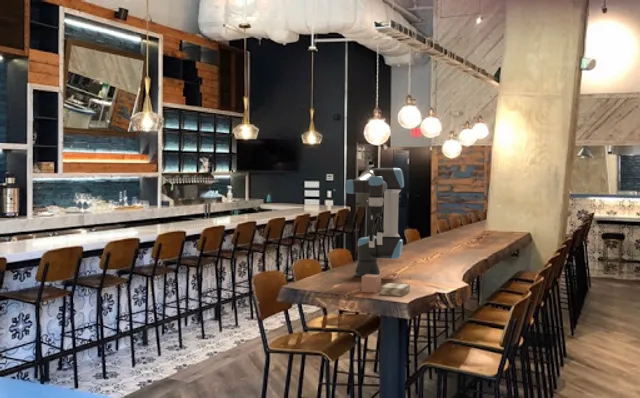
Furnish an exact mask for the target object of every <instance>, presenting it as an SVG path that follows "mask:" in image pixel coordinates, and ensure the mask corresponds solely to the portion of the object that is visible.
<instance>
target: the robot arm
mask: <svg viewBox="0 0 640 398" xmlns="http://www.w3.org/2000/svg"><path fill="white" fill-rule="evenodd" d="M344 187H345V188H344V189H345V192H346V194H352V195H354V194H356V195H359V194H364V195H365V194H368V205H369V206H368V214H371V215H369V221H368V227H367V233H366V234H367V235H368V236H365V237H360V238H359V239H357V240H358V241H357V264H356V266H355V270H354V276H355V277H360V278H362V276H364V275H366V274H373V275H381V270H380V267H379V264H378V259H387V260H394V259H395V260H398V259H400V258H401V256H402V253H403V246H404V239H402V238H401V236H400V234H399V199H400V198H399V197H400V196H399V194H400V193H401V191H402V188H404V187H405V179H404V173H403V170H402V169H401V168H399V167H375V168H371V169H368V170H364V171H363V172H362V173H361V174H360V176H358V177H357V178H355V179H347V180H346V181H345V185H344ZM382 214H383V215H382ZM375 230H376V231H377V232H376V235H375Z"/></svg>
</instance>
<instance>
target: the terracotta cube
mask: <svg viewBox="0 0 640 398" xmlns="http://www.w3.org/2000/svg"><path fill="white" fill-rule="evenodd" d="M381 286H382V275H381V274H380V275H373V274H366V275H364V276H362V277H361V293H362V292H364V293H371V292H373V293H372V294H377V293H378V291H379V292H381Z"/></svg>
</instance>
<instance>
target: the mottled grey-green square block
mask: <svg viewBox="0 0 640 398" xmlns="http://www.w3.org/2000/svg"><path fill="white" fill-rule="evenodd" d="M410 286H411V285H410V284H407V283H394V282H393V283H390V282H387V283H385V284H383V285H381V290H380V295H385V294H386V295H387V296H398V297H404V296H406V295H407V294H409V293H410V292H411V291H410V289H411V287H410ZM408 292H409V293H408ZM405 294H406V295H405Z"/></svg>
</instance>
